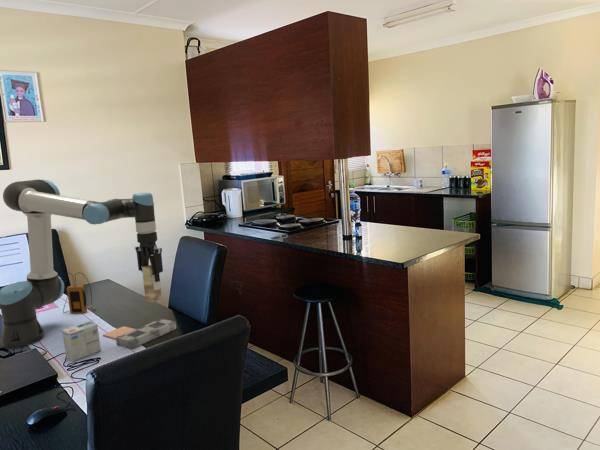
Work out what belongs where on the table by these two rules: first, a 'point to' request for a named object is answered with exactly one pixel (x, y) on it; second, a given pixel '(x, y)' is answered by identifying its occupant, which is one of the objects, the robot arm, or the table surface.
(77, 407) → the table surface
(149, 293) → the peg
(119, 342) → the rail
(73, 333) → the light bulb box
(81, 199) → the robot arm
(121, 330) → the pad
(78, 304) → the multimeter
